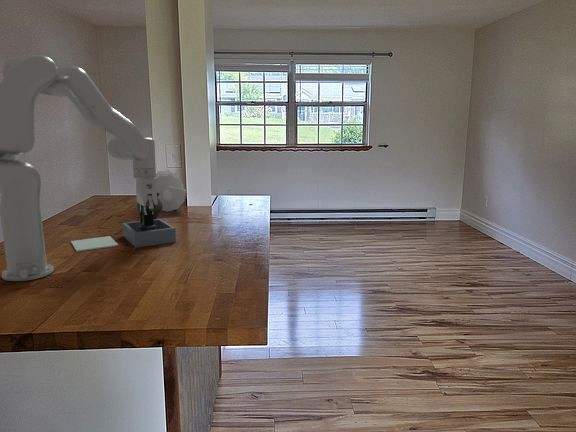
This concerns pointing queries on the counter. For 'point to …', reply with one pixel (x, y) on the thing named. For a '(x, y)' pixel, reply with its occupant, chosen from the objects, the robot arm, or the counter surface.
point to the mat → (93, 243)
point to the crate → (149, 233)
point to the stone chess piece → (142, 227)
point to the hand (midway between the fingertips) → (147, 223)
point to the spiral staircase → (169, 190)
